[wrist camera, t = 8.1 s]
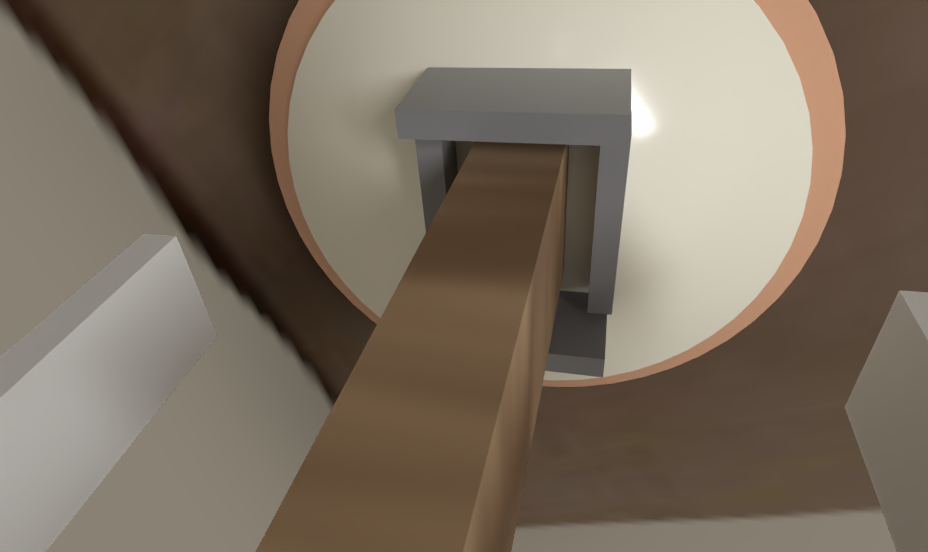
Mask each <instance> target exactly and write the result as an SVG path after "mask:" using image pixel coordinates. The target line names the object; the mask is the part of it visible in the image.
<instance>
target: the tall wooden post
mask: <svg viewBox="0 0 928 552" xmlns="http://www.w3.org/2000/svg"><path fill="white" fill-rule="evenodd" d="M568 160H569V145H564V144H535V143H505V142H476V141H475V142H474V144H473V146H472V148H471V150H470V151H469V153H468V155H467V157H466V159H465V161H464V163H463V165H462V166H461V168H460V170H459V172H458V174H457V176H456V178H455V180H454V181H453V183H452V185H451V187H450V189H449V191H448V193H447V194H446V196H445V198H444V200H443V202H442V204H441V206H440V208H439V209H438V211H437V213H436V215H435V217H434V219H433V221H432V223H431V224H430V226H429V228H428V230H427V232H426V234H425V236H424V238H423V239H422V241H421V243H420V245H419V247H418V249H417V251H416V253H415V254H414V256H413V258H412V260H411V262H410V264H409V266H408V267H407V269H406V271H405V273H404V275H403V277H402V279H401V281H400V282H399V284H398V286H397V288H396V290H395V292H394V294H393V296H392V297H391V299H390V301H389V303H388V305H387V307H386V309H385V311H384V312H383V314H382V316H381V318H380V320H379V322H378V324H377V325H376V327H375V329H374V331H373V333H372V335H371V337H370V339H369V340H368V342H367V344H366V346H365V348H364V350H363V352H362V354H361V355H360V357H359V359H358V361H357V363H356V365H355V367H354V369H353V370H352V372H351V374H350V376H349V378H348V380H347V382H346V383H345V385H344V387H343V389H342V391H341V393H340V395H339V397H338V398H337V400H336V402H335V404H334V406H333V408H332V410H331V412H330V413H329V415H328V417H327V419H326V421H325V423H324V425H323V427H322V428H321V430H320V432H319V434H318V436H317V438H316V440H315V442H314V443H313V445H312V447H311V449H310V451H309V453H308V455H307V456H306V459H305V460H304V462H303V464H302V466H301V468H300V470H299V471H298V473H297V475H296V477H295V479H294V481H293V483H292V485H291V487H290V488H289V490H288V492H287V494H286V496H285V498H284V499H283V501H282V503H281V505H280V507H279V509H278V511H277V513H276V515H275V516H274V518H273V520H272V522H271V524H270V526H269V528H268V529H267V531H266V533H265V536H264V537H263V539H262V541H261V543H260V544H259V546H258V548H257V550H256V552H511V550H512V544H513V539H514V534H515V528H516V523H517V518H518V512H519V507H520V502H521V496H522V491H523V486H524V480H525V475H526V470H527V464H528V459H529V454H530V448H531V443H532V438H533V432H534V427H535V422H536V416H537V411H538V406H539V400H540V395H541V390H542V384H543V379H544V374H545V368H546V363H547V358H548V352H549V347H550V342H551V336H552V331H553V326H554V320H555V315H556V310H557V304H558V299H559V294H560V288H561V283H562V278H563V272H564V251H565V228H566V206H567V183H568Z"/></svg>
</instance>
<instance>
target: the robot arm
mask: <svg viewBox="0 0 928 552" xmlns="http://www.w3.org/2000/svg"><path fill="white" fill-rule="evenodd" d="M216 337H217V333H216V331H215V329H214V326H213V324H212V321H211V319H210V316H209V314H208V311H207V309H206V307H205V304H204V302H203V299H202V297H201V294H200V292H199V290H198V287H197V285H196V282H195V280H194V278H193V275H192V273H191V270H190V268H189V266H188V263H187V261H186V258H185V256H184V253H183V251H182V249H181V246H180V244H179V241H178V239H177V236H174V235H161V234H148V233H147V234H146V233H144V234H142V235H141V236H140V237H139V238H138V239H137V240H135V241H134V242H133V243H132V244H131V245H130V246H128V247H127V248H126V249H125V250H124V251H123V252H121V253H120V254H119V255H118V256H117V257H116V258H114V259H113V260H112V261H111V262H110V263H109V264H107V265H106V266H105V267H104V268H103V269H101V270H100V271H99V272H98V273H97V274H96V275H95V276H93V277H92V278H91V279H90V280H89V281H88V282H86V283H85V284H84V285H83V286H82V287H80V288H79V289H78V290H77V291H76V292H75V293H73V294H72V295H71V296H70V297H69V298H68V299H67V300H65V301H64V302H63V303H62V304H61V305H59V306H58V307H57V308H56V309H55V310H54V311H52V312H51V313H50V314H49V315H48V316H47V317H46V318H44V319H43V320H42V321H41V322H40V323H38V324H37V325H36V326H35V327H34V328H33V329H31V330H30V331H29V332H28V333H27V334H26V335H24V336H23V337H22V338H21V339H20V340H19V341H18V342H16V343H15V344H14V345H13V346H12V347H10V348H9V349H8V350H7V351H6V352H5V353H3V354H2V355H1V356H0V552H46V551H47V549H48V548H49V547H50V545H51V544H52V543H53V542H54V541H55V539H56V538H57V537H58V536H59V534H60V533H61V532H62V530H63V529H64V528H65V527H66V525H67V524H68V523H69V522H70V520H71V519H72V518H73V517H74V515H75V514H76V513H77V512H78V510H79V509H80V508H81V507H82V505H83V504H84V503H85V502H86V500H87V499H88V498H89V496H90V495H91V494H92V493H93V492H94V490H95V489H96V488H97V486H98V485H99V484H100V483H101V481H102V480H103V479H104V478H105V476H106V475H107V474H108V473H109V471H110V470H111V469H112V468H113V466H114V465H115V464H116V463H117V461H118V460H119V459H120V458H121V456H122V455H123V454H124V452H125V451H126V450H127V449H128V448H129V446H130V445H131V444H132V443H133V441H134V440H135V439H136V438H137V436H138V435H139V434H140V432H141V431H142V430H143V429H144V427H145V426H146V425H147V424H148V422H149V421H150V420H151V419H152V417H153V416H154V415H155V414H156V412H157V411H158V410H159V409H160V407H161V406H162V405H163V404H164V402H165V401H166V400H167V399H168V397H169V396H170V395H171V394H172V392H173V391H174V390H175V389H176V387H177V386H178V385H179V383H180V382H181V381H182V380H183V378H184V377H185V376H186V375H187V373H188V372H189V371H190V370H191V368H192V367H193V366H194V365H195V363H196V362H197V361H198V360H199V358H200V357H201V356H202V354H203V353H204V352H205V351H206V349H207V348H208V347H209V346H210V345H211V343H212V342H213V341H214V339H215V338H216ZM845 410H846V412H847V415H848V418H849V421H850V423H851V426H852V429H853V432H854V434H855V437H856V440H857V443H858V446H859V448H860V451H861V454H862V457H863V459H864V462H865V465H866V468H867V470H868V473H869V476H870V479H871V481H872V484H873V487H874V490H875V493H876V495H877V498H878V501H879V504H880V506H881V509H882V512H883V515H884V517H885V520H886V523H887V526H888V528H889V531H890V534H891V537H892V540H893V542H894V545H895V548H896V551H897V552H928V293H926V292H913V291H900V290H899V292H898V295H897V297H896V299H895V301H894V303H893V305H892V307H891V309H890V312H889V314H888V316H887V318H886V320H885V322H884V324H883V326H882V329H881V331H880V333H879V335H878V337H877V339H876V341H875V343H874V346H873V348H872V350H871V352H870V354H869V356H868V358H867V360H866V363H865V365H864V367H863V369H862V371H861V373H860V375H859V378H858V380H857V382H856V384H855V386H854V388H853V390H852V392H851V395H850V397H849V399H848V401H847V403H846V405H845Z"/></svg>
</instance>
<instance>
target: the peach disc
mask: <svg viewBox="0 0 928 552" xmlns="http://www.w3.org/2000/svg"><path fill="white" fill-rule="evenodd" d="M269 126H270V139H271V151H272V156H273V161H274V165H275V170H276V175H277V180H278V183H279V186H280V189H281V192H282V195H283V198H284V201H285V204H286V207H287V209H288V212H289V214H290V216H291V218H292V220H293V222H294V224H295V226H296V228H297V230H298V233H299V235H300V237H301V238H302V240H303V241H304V243H305V245H306V246H307V248H308V249H309V251H310V253H311V254H312V256H313V258H314V259H315V261H316V262H317V263H318V265H319V266H320V267H321V268H322V270H323V271H324V272H325V274H326V275H327V276H328V277H329V279H330V280H331V281H332V283H333V284H334V285H335V286H336V287H337V288H338V289H339V290H340V291H341V292H342V293H343V294H344V295H345V296H346V297H347V298H348V299H349V300H350V302H351V303H352V304H353V305H355V306H356V307H357V308H358V309H359V310H360V311H362V312H363V313H364V314H365V315H366V316H367V317H369V318H370V319H371V320H372V321H373V322H375V323H376V324H378V322H379V320H380V318H381V316H382V314H383V312H384V311H385V309H386V307H387V305H388V303H389V301H390V299H391V297H392V296H393V294H394V292H395V290H396V288H397V286H398V284H399V282H400V281H401V279H402V277H403V275H404V273H405V271H406V269H407V267H408V266H409V264H410V262H411V260H412V258H413V256H414V254H415V253H416V251H417V249H418V247H419V245H420V243H421V241H422V239H423V238H424V236H425V234H426V232H427V230H428V228H429V226H430V224H431V223H432V221H433V219H434V217H435V215H436V213H437V211H438V209H439V208H440V206H441V204H442V202H443V200H444V198H445V196H446V194H447V193H448V191H449V189H450V187H451V185H452V183H453V181H454V180H455V178H456V176H457V174H458V172H459V170H460V168H461V166H462V165H463V163H464V161H465V159H466V157H467V155H468V153H469V151H470V150H471V148H472V146H473V144H474V142H475V141H476V142H505V143H535V144H564V145H569V160H568V183H567V206H566V228H565V251H564V272H563V278H562V283H561V288H560V294H559V299H558V304H557V310H556V315H555V320H554V326H553V331H552V336H551V342H550V347H549V352H548V358H547V363H546V368H545V374H544V379H543V384H542V386H552V387H576V386H593V385H602V384H611V383H617V382H622V381H627V380H631V379H636V378H641V377H645V376H648V375H651V374H654V373H658V372H661V371H664V370H667V369H670V368H673V367H675V366H678V365H680V364H682V363H685V362H687V361H689V360H691V359H694V358H696V357H698V356H701V355H702V354H704V353H706V352H708V351H709V350H711V349H713V348H715V347H716V346H718V345H720V344H722V343H723V342H725V341H727V340H729V339H730V338H731V337H733V336H734V335H735V334H737V333H738V332H739V331H741V330H742V329H744V328H745V327H746V326H748V325H749V324H750V323H752V322H753V321H754V320H755V319H756V318H758V317H759V316H760V315H761V314H762V313H763V312H764V311H765V310H766V309H767V308H768V307H769V306H770V305H771V304H772V303H774V302H775V301H776V300H777V299H778V298H779V296H780V295H781V294H782V293H783V292H784V290H785V289H786V288H787V287H788V286H789V284H790V283H791V282H792V281H793V279H794V278H795V277H796V276H797V275H798V273H799V272H800V271H801V269H802V267H803V266H804V264H805V262H806V261H807V259H808V258H809V256H810V254H811V253H812V251H813V250H814V248H815V246H816V245H817V243H818V241H819V239H820V236H821V234H822V232H823V230H824V227H825V225H826V223H827V220H828V218H829V216H830V213H831V211H832V208H833V205H834V201H835V197H836V193H837V190H838V186H839V182H840V178H841V174H842V166H843V156H844V146H845V136H846V133H845V117H844V101H843V92H842V88H841V83H840V79H839V75H838V71H837V66H836V62H835V58H834V54H833V51H832V49H831V47H830V44H829V42H828V40H827V37H826V35H825V32H824V30H823V28H822V25H821V23H820V21H819V18H818V16H817V13H816V12H815V10H814V9H813V7H812V6H811V4H810V3H809V1H808V0H299V1H298V3H297V5H296V7H295V9H294V11H293V12H292V14H291V16H290V18H289V21H288V24H287V26H286V29H285V32H284V35H283V38H282V40H281V43H280V46H279V49H278V52H277V57H276V62H275V67H274V72H273V77H272V82H271V90H270V108H269Z"/></svg>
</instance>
